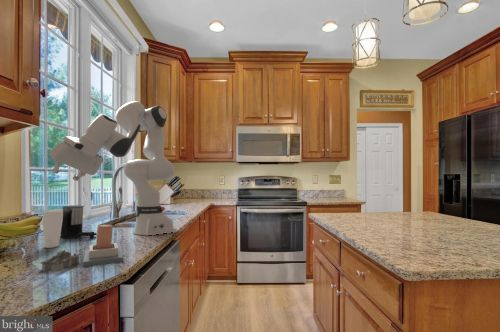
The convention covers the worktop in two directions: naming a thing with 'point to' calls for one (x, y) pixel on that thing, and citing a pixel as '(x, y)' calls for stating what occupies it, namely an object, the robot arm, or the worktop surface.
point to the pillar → (104, 237)
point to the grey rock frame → (60, 261)
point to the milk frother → (73, 222)
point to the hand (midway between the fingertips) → (65, 176)
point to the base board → (102, 255)
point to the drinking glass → (52, 227)
